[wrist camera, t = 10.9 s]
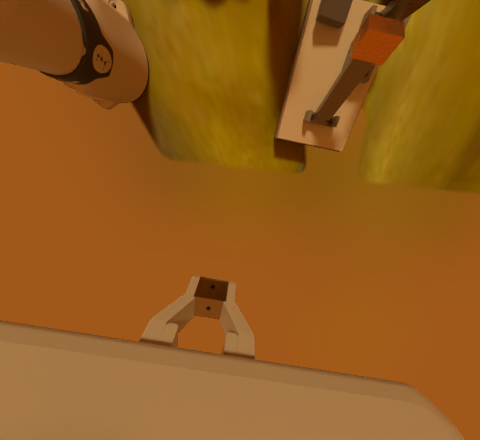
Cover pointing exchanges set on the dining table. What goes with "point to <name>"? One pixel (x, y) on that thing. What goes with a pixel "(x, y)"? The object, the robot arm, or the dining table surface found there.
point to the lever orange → (361, 62)
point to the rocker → (333, 12)
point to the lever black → (401, 9)
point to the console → (323, 79)
